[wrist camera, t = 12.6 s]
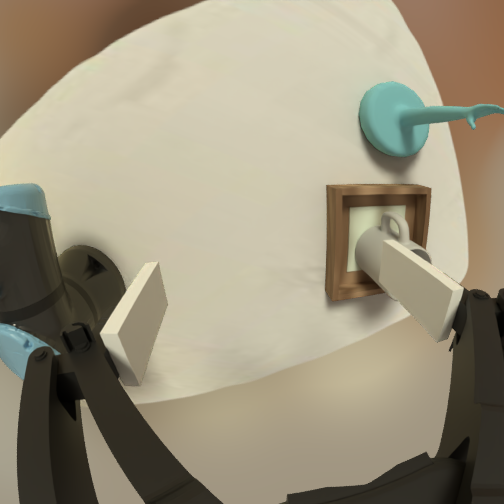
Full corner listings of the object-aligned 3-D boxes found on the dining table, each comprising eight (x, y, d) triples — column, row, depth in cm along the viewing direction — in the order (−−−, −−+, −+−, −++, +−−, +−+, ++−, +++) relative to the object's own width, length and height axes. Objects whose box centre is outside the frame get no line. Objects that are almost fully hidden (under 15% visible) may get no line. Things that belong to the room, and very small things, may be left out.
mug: (395, 265, 45) (429, 294, 35) (355, 276, 45) (384, 309, 35) (395, 200, 41) (436, 217, 30) (351, 208, 41) (386, 227, 30)
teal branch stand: (349, 85, 35) (459, 40, 11) (409, 85, 35) (520, 65, 11) (364, 160, 39) (486, 183, 16) (422, 153, 39) (537, 174, 16)
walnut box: (325, 289, 47) (332, 301, 43) (326, 185, 40) (335, 188, 37) (408, 277, 47) (419, 286, 44) (417, 184, 41) (431, 188, 37)
